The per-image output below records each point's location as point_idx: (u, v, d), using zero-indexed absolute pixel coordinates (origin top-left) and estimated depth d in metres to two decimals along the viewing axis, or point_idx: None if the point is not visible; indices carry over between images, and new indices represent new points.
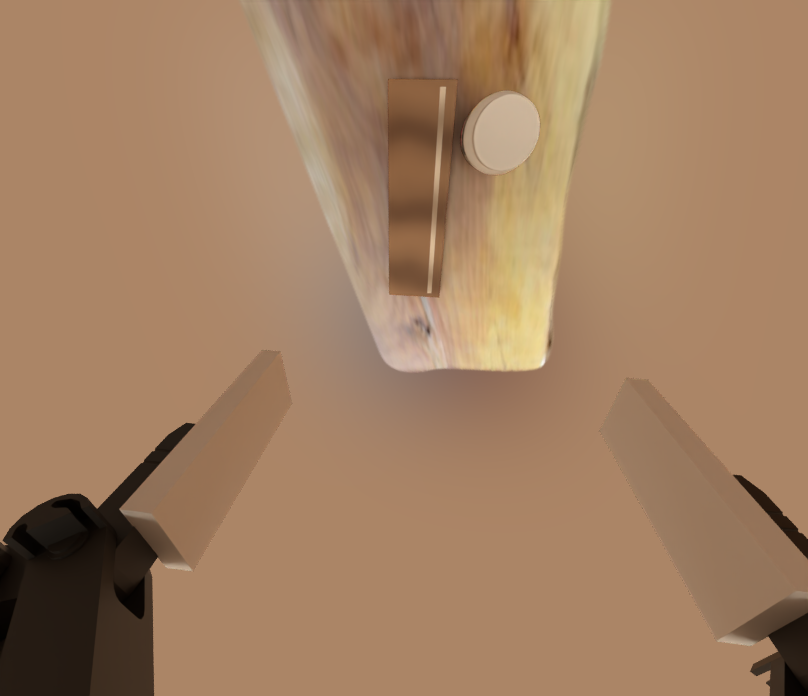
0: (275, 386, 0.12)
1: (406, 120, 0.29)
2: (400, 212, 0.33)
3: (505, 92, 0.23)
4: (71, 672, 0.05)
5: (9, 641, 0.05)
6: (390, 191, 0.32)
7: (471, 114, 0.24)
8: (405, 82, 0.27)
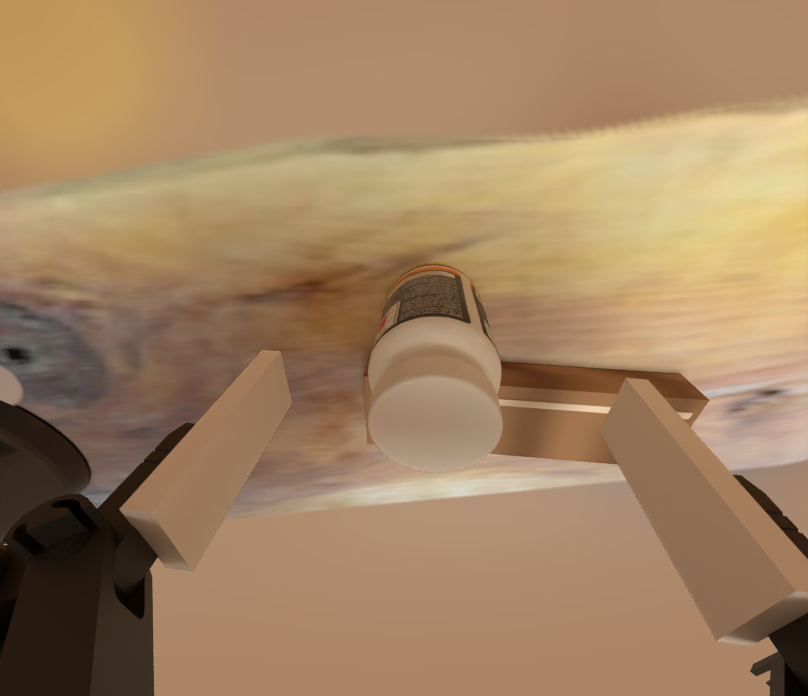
0: (275, 386, 0.12)
1: None
2: (525, 444, 0.21)
3: (370, 383, 0.13)
4: (71, 672, 0.05)
5: (10, 640, 0.05)
6: (493, 452, 0.22)
7: None
8: None
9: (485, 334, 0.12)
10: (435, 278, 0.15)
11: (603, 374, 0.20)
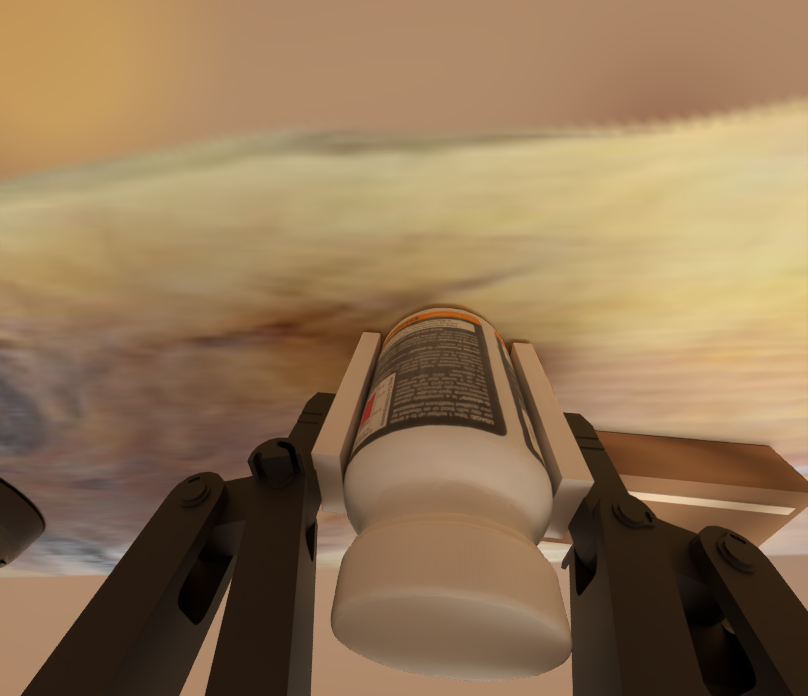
0: None
1: None
2: None
3: (346, 510, 0.09)
4: (281, 593, 0.06)
5: (242, 542, 0.07)
6: None
7: None
8: None
9: (530, 449, 0.08)
10: (447, 334, 0.11)
11: (667, 446, 0.15)
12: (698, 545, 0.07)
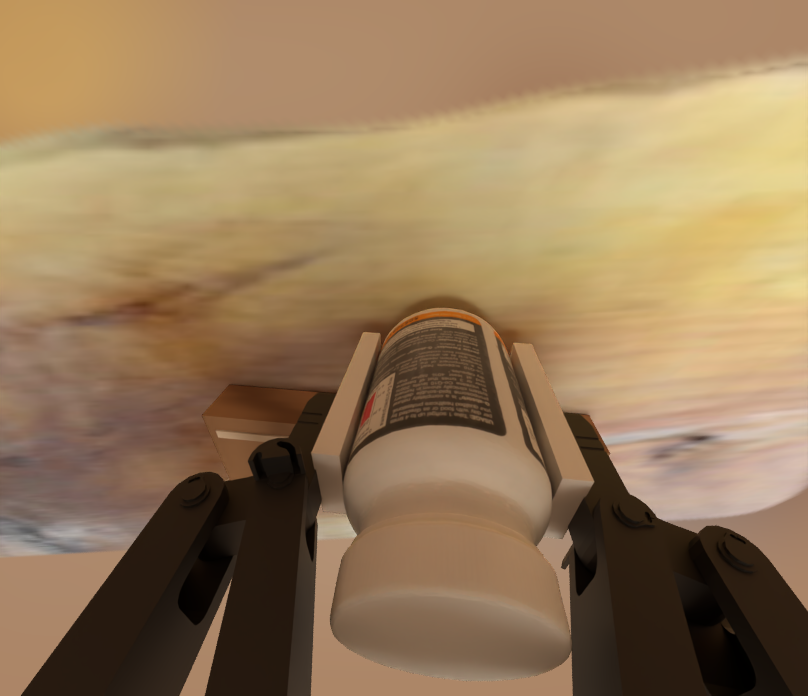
0: None
1: None
2: None
3: (346, 510, 0.09)
4: (281, 594, 0.06)
5: (242, 542, 0.07)
6: None
7: None
8: (229, 471, 0.19)
9: (529, 449, 0.08)
10: (446, 334, 0.11)
11: None
12: (698, 545, 0.07)
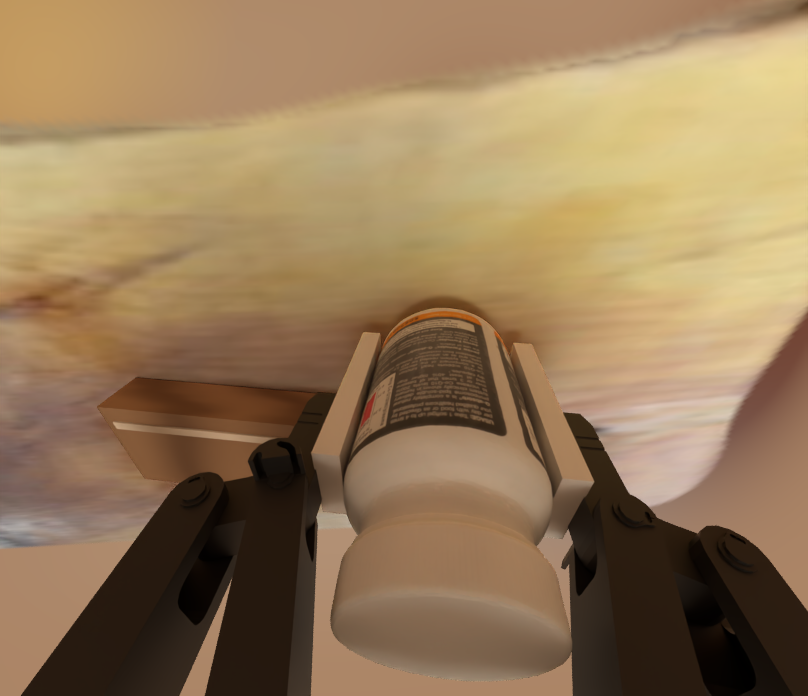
0: None
1: (178, 466, 0.19)
2: None
3: (346, 510, 0.09)
4: (281, 594, 0.06)
5: (242, 542, 0.07)
6: None
7: None
8: (137, 463, 0.19)
9: (530, 450, 0.08)
10: (447, 334, 0.11)
11: None
12: (698, 545, 0.07)
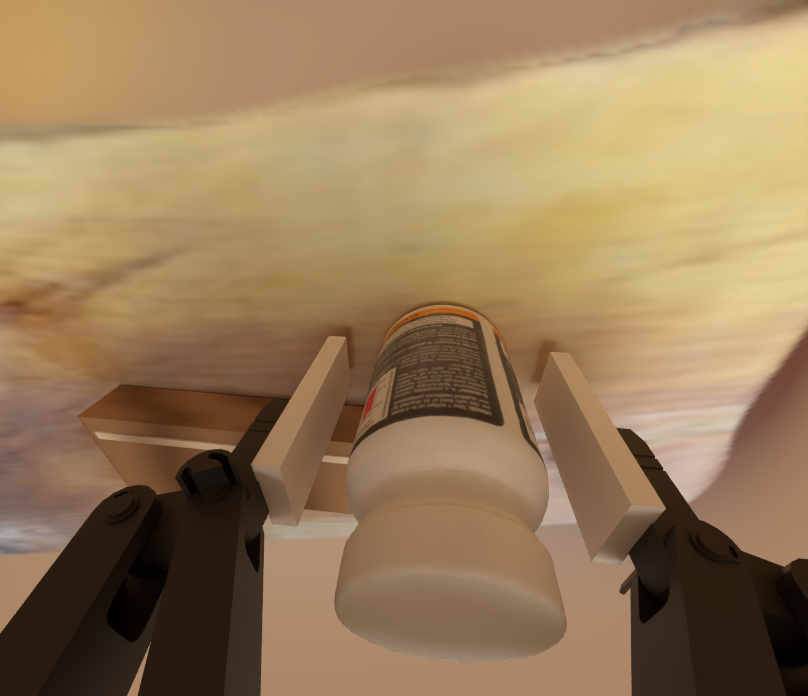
0: (342, 369, 0.13)
1: (164, 476, 0.18)
2: None
3: (348, 500, 0.09)
4: (216, 609, 0.06)
5: (172, 563, 0.06)
6: None
7: None
8: (122, 473, 0.18)
9: (526, 440, 0.08)
10: (446, 330, 0.11)
11: None
12: (788, 577, 0.06)
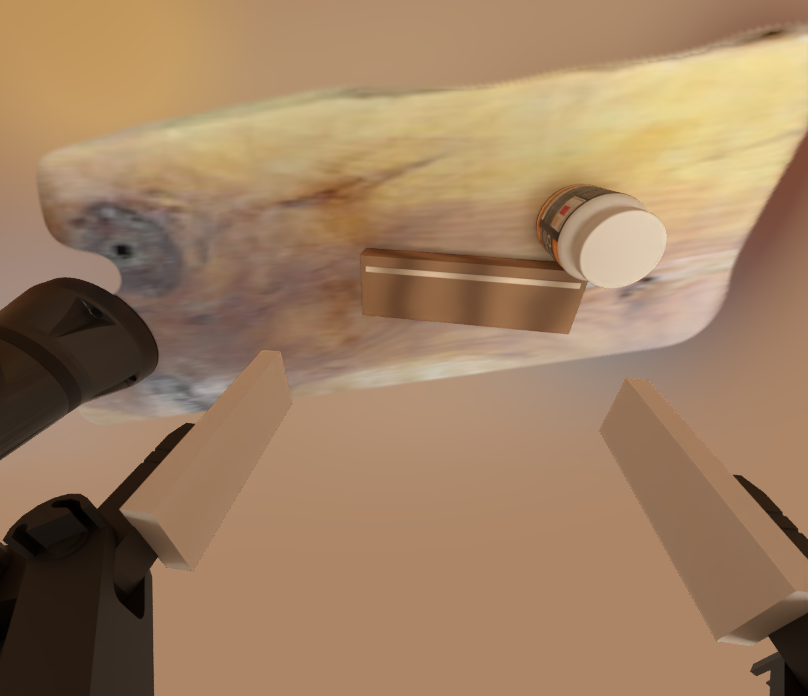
0: (275, 386, 0.12)
1: (391, 302, 0.31)
2: (472, 314, 0.30)
3: (563, 241, 0.21)
4: (71, 672, 0.05)
5: (9, 641, 0.05)
6: (450, 321, 0.31)
7: (572, 274, 0.23)
8: (364, 301, 0.31)
9: None
10: (592, 186, 0.23)
11: (525, 261, 0.29)
12: None
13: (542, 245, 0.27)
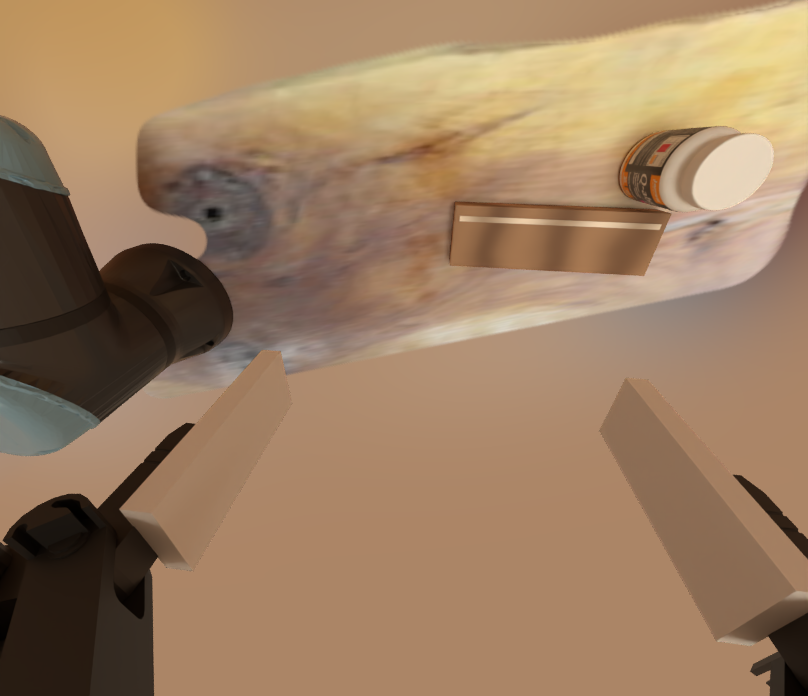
0: (275, 386, 0.12)
1: (479, 251, 0.33)
2: (555, 259, 0.33)
3: (668, 173, 0.24)
4: (71, 672, 0.05)
5: (9, 641, 0.05)
6: (533, 268, 0.33)
7: (670, 206, 0.25)
8: (453, 251, 0.33)
9: None
10: None
11: (606, 208, 0.31)
12: None
13: (625, 190, 0.30)
